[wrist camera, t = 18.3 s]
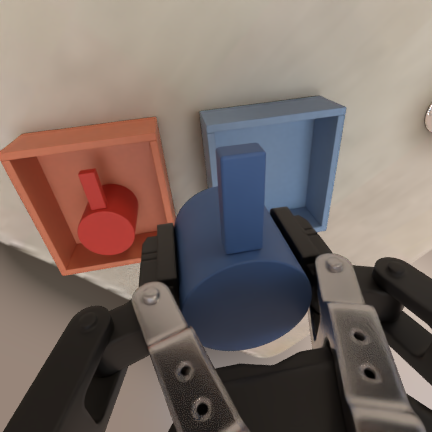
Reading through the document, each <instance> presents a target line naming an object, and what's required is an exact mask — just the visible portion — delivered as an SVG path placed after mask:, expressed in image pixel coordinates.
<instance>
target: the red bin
mask: <svg viewBox="0 0 432 432" xmlns="http://www.w3.org/2000/svg"><path fill="white" fill-rule="evenodd" d="M0 161H1V163H2V165H3V166H4V168H5V170H6V172H7V174H8V176H9V178H10V179H11V181H12V183H13V185H14V187H15V189H16V191H17V192H18V194H19V196H20V198H21V200H22V202H23V204H24V205H25V207H26V209H27V211H28V213H29V215H30V216H31V218H32V220H33V222H34V224H35V226H36V228H37V229H38V231H39V233H40V235H41V237H42V239H43V241H44V242H45V244H46V246H47V248H48V250H49V252H50V254H51V255H52V257H53V259H54V261H55V263H56V265H57V267H58V268H59V270H60V272H61V274H62V275H63V276H65V275H71V274H76V273H82V272H88V271H94V270H100V269H105V268H111V267H117V266H123V265H129V264H134V263H140V262H141V255H142V254H141V252H142V244H143V243H144V241H145V240H146V238H147V237H152V236H157V225H159V224H166V223H173V224H175V220H176V216H175V211H174V205H173V200H172V195H171V190H170V185H169V180H168V175H167V170H166V165H165V160H164V154H163V149H162V144H161V139H160V134H159V129H158V124H157V119H156V117H150V118H142V119H134V120H126V121H119V122H111V123H103V124H95V125H87V126H80V127H72V128H64V129H56V130H48V131H41V132H33V133H25V134H22V135H20V136H19V137H18V138H16V139H15V140H14V141H13V142H11V143H10V144H9V145H7V146H6V147H5V148H4V149H2V150H1V151H0ZM88 169H96V171H97V174H98V176H99V179H100V182H101V185H106V184H118V185H122V186H124V187H126V188H128V189H129V190H131V191H132V192H133V193H134V195H135V196H136V198H137V200H138V215H137V223H136V232H135V239H134V242H133V244H132V245H131V246H130V247H129V248H128V249H127V250H126V251H124V252H122V253H119V254H116V255H101V254H97V253H94V252H92V251H90V250H89V249H87V248H86V247H85V246H84V245H83V244H82V243H81V242H80V240H79V237H78V234H77V229H78V225H79V223H80V220H81V218H82V215H83V213H84V211H85V208H86V206H87V203H88V199H87V197H86V194H85V192H84V189H83V187H82V184H81V181H80V179H79V176H78V174H79V172H80V171H81V170H88Z"/></svg>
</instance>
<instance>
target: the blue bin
mask: <svg viewBox="0 0 432 432" xmlns="http://www.w3.org/2000/svg"><path fill="white" fill-rule="evenodd" d="M199 113H200V122H201V131H202V140H203V148H204V157H205V166H206V175H207V184H208V188H211V187H216V186H218V180H217V165H216V148H218V147H223V146H232V145H240V144H248V143H259V145H260V146H261V147H262V148H263V149H264V150H265V152H266V174H265V201H264V205H265V207H266V208H267V210H268V212H269V213H270V210H271V209H272V208H279V207H288V208H289V210H290V211H291V213H292V214H293V215H294V216H295V215H300V216H301V217H303V218H305V219H306V220H308V222H309V223H310V224H311V225H312V227H313V229H315V231H316V232H320V231H326V228H327V222H328V216H329V210H330V204H331V198H332V192H333V186H334V180H335V174H336V168H337V162H338V155H339V149H340V143H341V137H342V131H343V125H344V119H345V113H346V107H345V106H342V105H340V104H338V103H335V102H333V101H331V100H328V99H326V98H324V97H321V96H314V97H306V98H298V99H290V100H282V101H275V102H267V103H259V104H251V105H243V106H236V107H228V108H220V109H212V110H205V111H200V112H199Z"/></svg>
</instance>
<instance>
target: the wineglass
mask: <svg viewBox="0 0 432 432" xmlns="http://www.w3.org/2000/svg"><path fill="white" fill-rule="evenodd" d="M425 125H426V128H427V129H428V130H429V131H430V132H432V104H431V105H430V107H429V109H428V111H427V113H426V117H425Z"/></svg>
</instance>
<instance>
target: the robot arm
mask: <svg viewBox="0 0 432 432" xmlns="http://www.w3.org/2000/svg"><path fill="white" fill-rule="evenodd" d="M270 215H271V217H272V219H273V220H274V222H275V224H276V225H277V227H278V229H279V230H280V232H281V234H282V235H283V237H284V239H285V240H286V242H287V244H288V246H289V247H290V249H291V251H292V252H293V254H294V256H295V257H296V259H297V261H298V262H299V264H300V266H301V268H302V269H303V271H304V273H305V274H306V276H307V278H308V280H309V281H310V284H311V288H312V300H311V303H310V306H309V309H308V318H309V326H310V334H311V342H312V350H306V351H301V352H299V353H296V354H295V355H292V356H291V357H289V358H287V359H285V360H283V361H281V362H279V363H277V364H275V365H271V366H270V365H254V364H236V365H231V366H226V367H221V368H216V369H215V368H214V366H213V364H212V362H211V361H210V359H209V357H208V355H207V353H206V351H205V349H204V347H203V345H202V344H201V342H200V340H199V338H198V336H197V334H196V332H195V330H194V329H193V327H192V326H191V325H190V326H188V324H187V323H186V321H185V319H184V317H183V315H182V313H181V311H180V306H179V283H178V270H177V257H176V243H175V230H174V224H173V223H166V224H159V225H157V236H152V237H147V238H146V240H145V241H144V243H143V244H142V252H141V254H142V255H141V264H140V277H139V288H138V289H137V290H136V291H135V292H134V294H133V296H132V299H131V300H130V301H129V302H127V303H126V304H124V305H122V306H120V307H117V308H115V309H113V310H111V311H108V310H107V309H106V308H105V307H102V306H91V307H88V308H85V309H83V310H81V311H80V312H78V313H77V314H76V315H75V316H74V317H73V318H72V319H71V321H70V322H69V324H68V326H67V327H66V329H65V331H64V332H63V334H62V336H61V337H60V339H59V340H58V342H57V344H56V345H55V347H54V349H53V350H52V352H51V354H50V355H49V357H48V359H47V360H46V362H45V364H44V365H43V367H42V368H41V370H40V372H39V373H38V375H37V377H36V379H35V380H34V382H33V383H32V385H31V386H30V388H29V390H28V391H27V393H26V395H25V396H24V398H23V400H22V401H21V403H20V405H19V406H18V408H17V410H16V411H15V413H14V415H13V416H12V418H11V419H10V421H9V423H8V424H7V426H6V428H5V429H4V431H3V432H105V430H106V427H107V424H108V421H109V419H110V416H111V413H112V410H113V408H114V405H115V402H116V399H117V397H118V394H119V391H120V388H121V386H122V383H123V380H124V377H125V374H126V371H127V368H128V366H129V365H131V364H133V363H135V362H137V361H139V360H141V359H143V358H145V357H147V356H148V355H150V357H151V360H152V363H153V366H154V369H155V371H156V374H157V377H158V380H159V383H160V386H161V388H162V391H163V394H164V397H165V400H166V403H167V406H168V409H169V412H170V415H171V417H172V420H173V424H172V426H171V428H170V429H169V431H168V432H432V410H431V409H429V408H427V407H426V406H425V405H423V404H421V403H420V402H419V401H417V400H415V399H414V398H412V397H411V396H409V395H408V394H406V392H405V390H404V387H403V384H402V381H401V378H400V376H399V373H398V370H397V367H396V365H395V362H394V359H393V356H392V353H391V351H390V348H389V346H390V347H391V348H393V350H395V351H396V352H397V353H398V354H399V355H400V356H401V357H402V358H403V359H404V360H405V361H406V362H408V364H409V365H410V366H412V367H413V368H414V369H415V370H416V371H417V372H418V373H419V374H420V375H421V376H422V377H423V378H425V380H426V381H427V382H429V383H430V384H431V385H432V334H431V333H429V332H428V331H427V330H426V329H424V328H423V327H422V326H421V325H419V324H418V323H417V322H416V321H414V320H413V319H412V318H411V317H409V316H408V315H407V314H406V313H404V312H403V311H402V310H403V308H404V306H405V307H406V308H407V309H409V310H410V311H411V312H413V313H414V314H415V315H416V316H418V317H419V318H420V319H421V320H423V321H424V322H425V323H427V324H428V325H429V326H430V328H432V279H431V278H430V277H428V276H426V275H425V274H424V273H422V272H420V271H419V270H417V269H416V268H414V267H413V266H411V265H410V264H408V263H406V262H405V261H402V260H400V259H396V258H390V257H385V258H381V259H379V260H377V261H376V263H375V266H374V267H366V266H355V265H352V263H351V262H350V261H349V260H348V259H347V258H345V257H343V256H341V255H338V254H334V253H332V252H331V250H330V249H329V248H328V246H327V245H326V244H325V242H324V241H323V240H322V238H321V237H320V236H319V235H318V234H317V232H316V231H315V229H313V227H312V225H311V224H310V223H309V222H308V220H306V219H305V218H303V217H301V216H300V215H295V216H294V215H293V214H292V213H291V211H290V210H289V208H288V207H279V208H272V209H271V210H270Z"/></svg>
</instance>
